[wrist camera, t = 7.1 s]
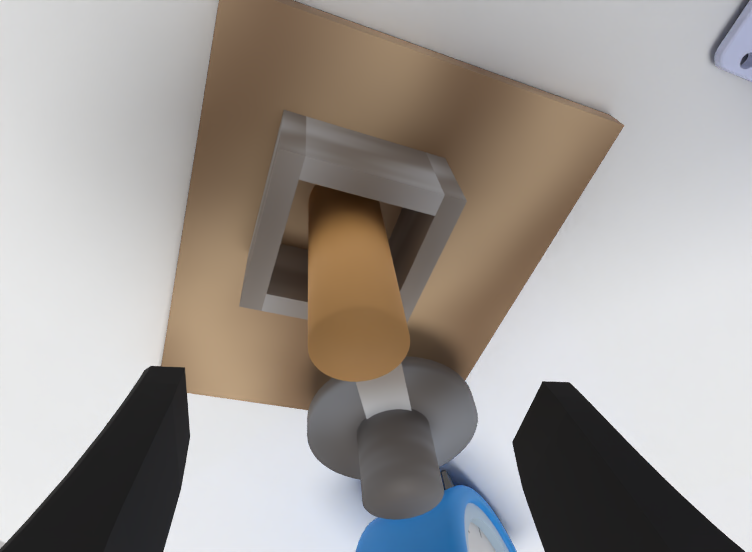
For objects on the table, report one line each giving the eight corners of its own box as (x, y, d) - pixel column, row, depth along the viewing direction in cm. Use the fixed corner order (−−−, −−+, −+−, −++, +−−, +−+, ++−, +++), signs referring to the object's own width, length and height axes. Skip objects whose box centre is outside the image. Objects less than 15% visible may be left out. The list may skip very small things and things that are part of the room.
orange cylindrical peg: (381, 173, 17) (415, 305, 12) (376, 234, 19) (404, 380, 13) (307, 171, 17) (307, 306, 11) (308, 234, 18) (308, 383, 13)
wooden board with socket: (610, 115, 18) (733, 205, 13) (423, 424, 27) (450, 551, 22) (226, -24, 14) (179, 22, 9) (160, 386, 23) (117, 527, 18)
